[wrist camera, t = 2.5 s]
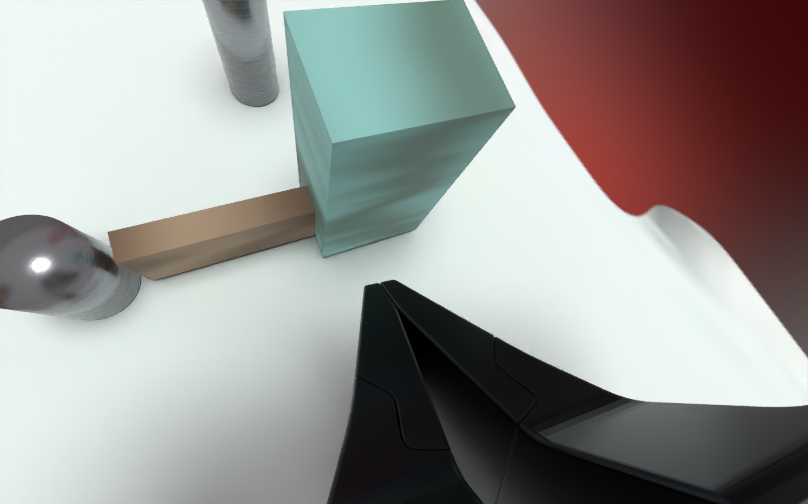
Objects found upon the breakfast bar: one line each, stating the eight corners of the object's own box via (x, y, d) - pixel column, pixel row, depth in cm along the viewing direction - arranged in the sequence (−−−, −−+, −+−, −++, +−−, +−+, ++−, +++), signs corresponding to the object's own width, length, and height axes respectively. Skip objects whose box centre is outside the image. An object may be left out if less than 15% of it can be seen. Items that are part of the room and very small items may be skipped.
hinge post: (157, 281, 15) (104, 258, 11) (90, 335, 14) (7, 330, 10) (106, 235, 15) (36, 196, 11) (36, 285, 14) (-68, 261, 10)
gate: (159, 307, 14) (-111, 231, 5) (140, 229, 15) (-132, 40, 6) (415, 229, 18) (515, 106, 9) (391, 170, 19) (462, -1, 10)
